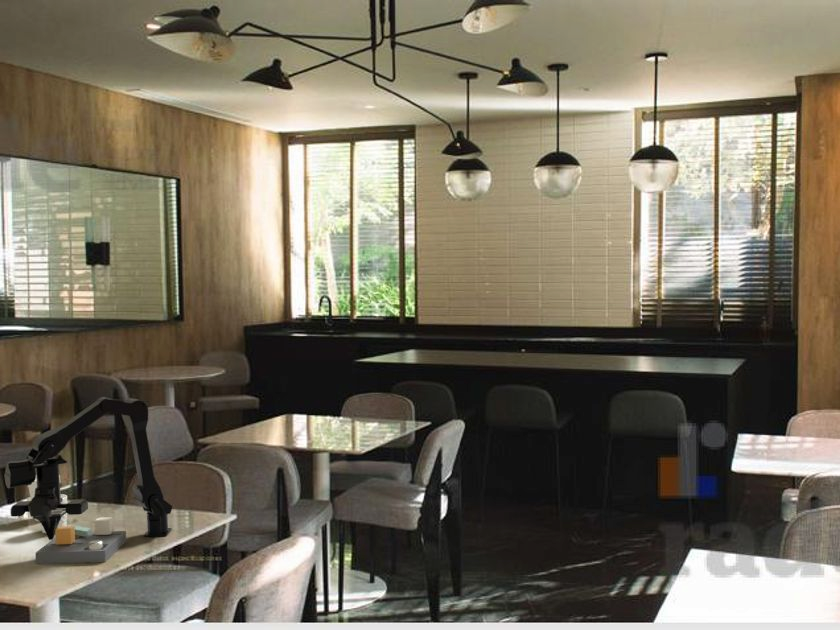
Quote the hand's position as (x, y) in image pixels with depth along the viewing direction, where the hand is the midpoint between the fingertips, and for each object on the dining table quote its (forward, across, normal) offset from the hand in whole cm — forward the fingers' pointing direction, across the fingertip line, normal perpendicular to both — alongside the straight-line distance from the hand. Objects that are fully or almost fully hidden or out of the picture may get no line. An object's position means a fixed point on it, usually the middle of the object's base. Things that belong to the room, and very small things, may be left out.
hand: (51, 539), depth 246 cm
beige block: (+1, +12, +8) cm, 14 cm away
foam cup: (+5, -17, +38) cm, 42 cm away
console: (+4, +8, +2) cm, 9 cm away
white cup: (+5, -8, +24) cm, 26 cm away
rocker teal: (0, +5, +7) cm, 8 cm away
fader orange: (+1, +4, 0) cm, 4 cm away
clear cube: (+4, +13, -4) cm, 14 cm away
